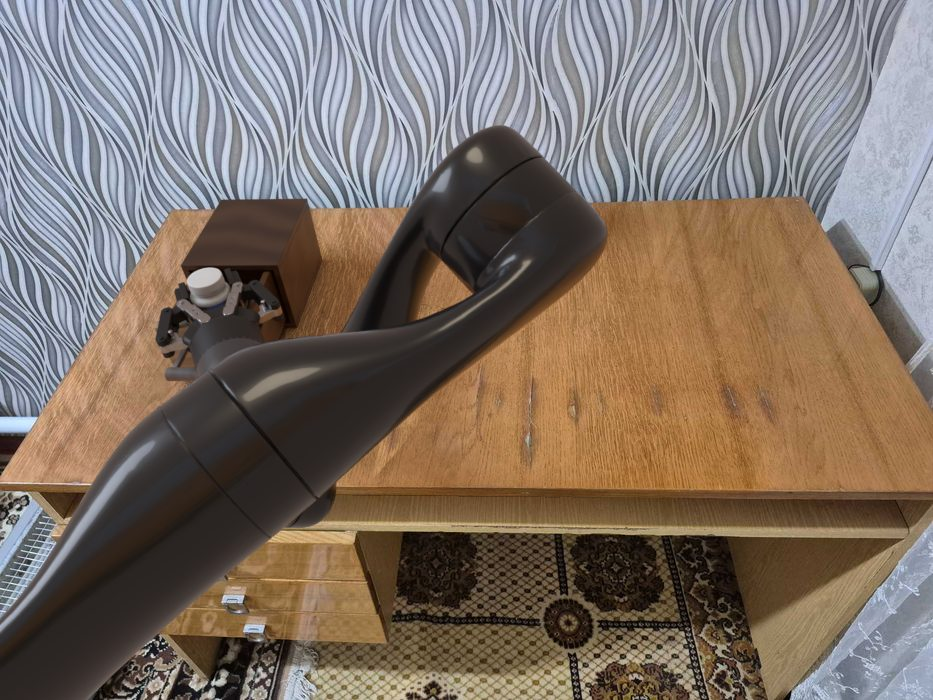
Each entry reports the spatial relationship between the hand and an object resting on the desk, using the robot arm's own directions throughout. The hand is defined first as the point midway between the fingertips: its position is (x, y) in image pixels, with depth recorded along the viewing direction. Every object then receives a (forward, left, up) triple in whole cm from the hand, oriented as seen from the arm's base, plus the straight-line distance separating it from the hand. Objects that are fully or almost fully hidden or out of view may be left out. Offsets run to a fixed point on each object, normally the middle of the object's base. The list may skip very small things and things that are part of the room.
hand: (206, 282), depth 80 cm
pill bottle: (-2, -1, -6) cm, 7 cm away
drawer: (-2, -1, -10) cm, 10 cm away
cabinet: (+12, -1, -11) cm, 16 cm away
